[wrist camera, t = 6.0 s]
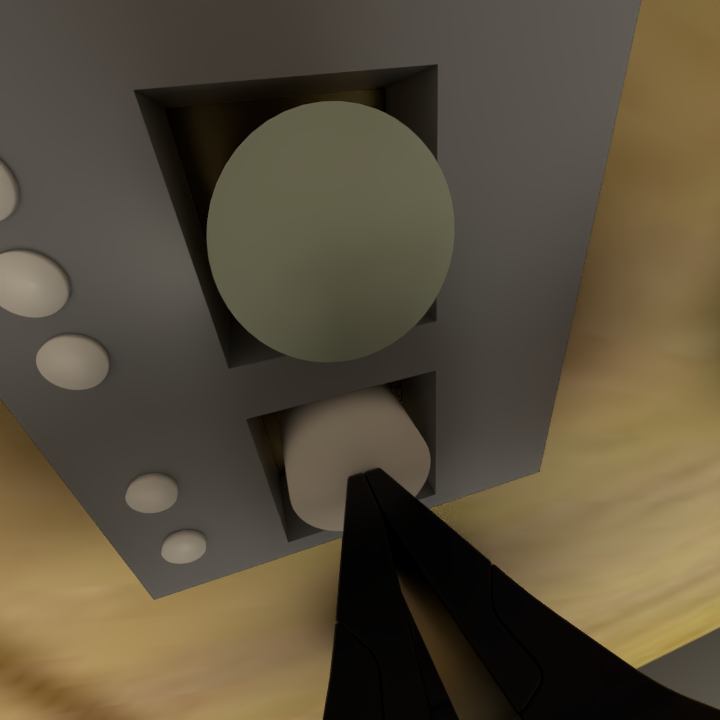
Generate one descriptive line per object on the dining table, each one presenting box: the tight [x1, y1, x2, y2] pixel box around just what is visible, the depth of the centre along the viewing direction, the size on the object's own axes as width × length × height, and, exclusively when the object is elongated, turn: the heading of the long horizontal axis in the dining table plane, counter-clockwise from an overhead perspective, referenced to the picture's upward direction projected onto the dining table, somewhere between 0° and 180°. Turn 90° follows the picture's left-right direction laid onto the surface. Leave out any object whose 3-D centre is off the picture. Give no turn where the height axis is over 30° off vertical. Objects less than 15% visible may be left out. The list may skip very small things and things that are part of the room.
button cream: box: [278, 383, 431, 531], centre depth 10 cm, size 4×4×3 cm
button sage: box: [207, 101, 455, 363], centre depth 7 cm, size 4×4×3 cm
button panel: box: [0, 0, 641, 600], centre depth 8 cm, size 17×12×3 cm
